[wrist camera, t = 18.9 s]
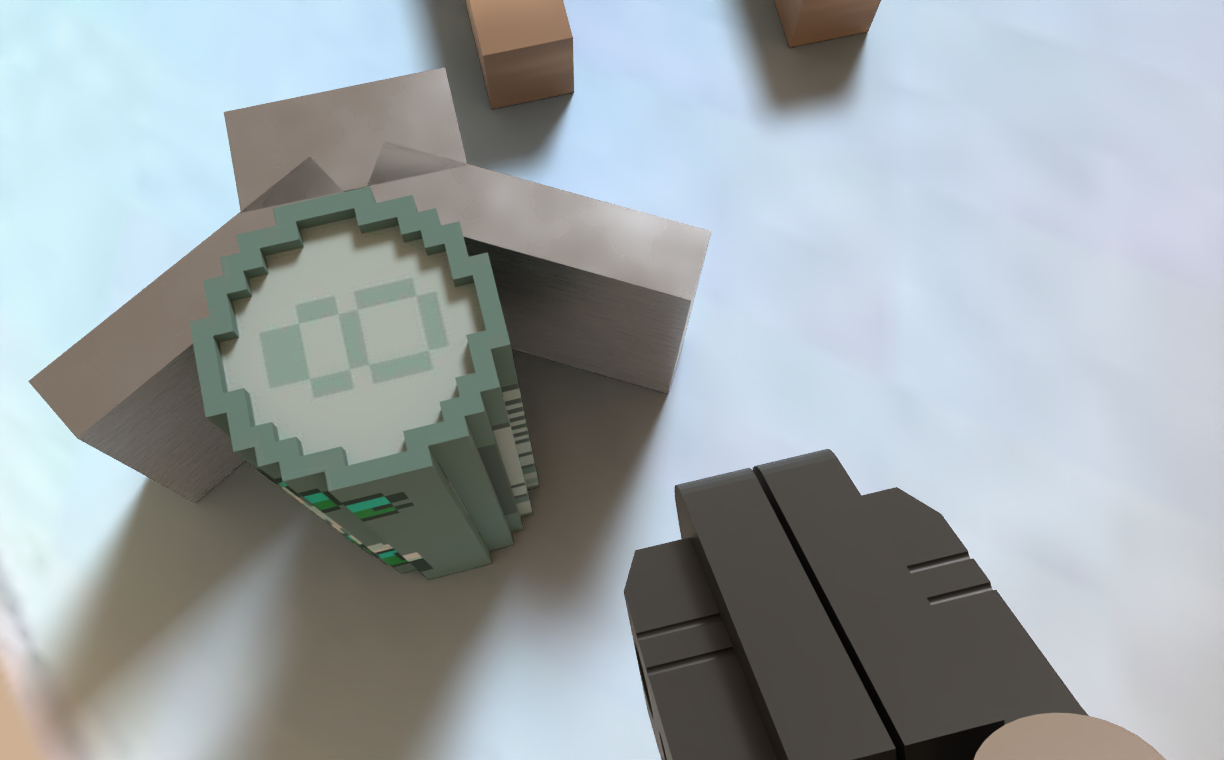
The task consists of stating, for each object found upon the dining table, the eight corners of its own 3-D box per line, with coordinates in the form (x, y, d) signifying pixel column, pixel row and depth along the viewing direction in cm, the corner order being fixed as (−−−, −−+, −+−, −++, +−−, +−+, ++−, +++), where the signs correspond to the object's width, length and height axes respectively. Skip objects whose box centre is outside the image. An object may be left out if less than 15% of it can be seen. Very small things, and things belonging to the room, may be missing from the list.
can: (328, 413, 38) (173, 230, 24) (510, 370, 39) (466, 164, 24) (365, 596, 37) (222, 517, 22) (554, 547, 37) (534, 440, 23)
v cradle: (697, 387, 39) (729, 291, 30) (164, 510, 37) (35, 447, 29) (638, 171, 41) (651, 25, 32) (131, 280, 39) (3, 156, 31)
